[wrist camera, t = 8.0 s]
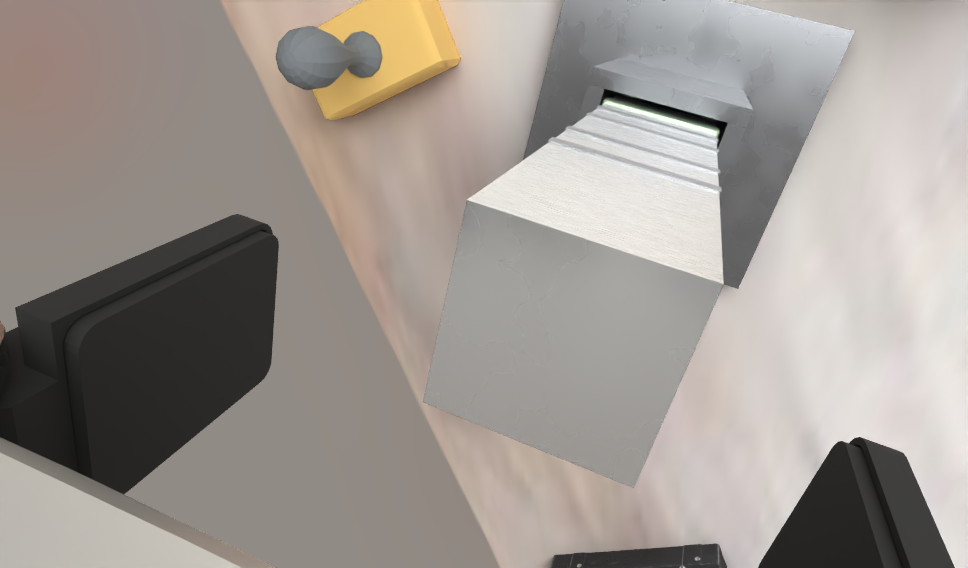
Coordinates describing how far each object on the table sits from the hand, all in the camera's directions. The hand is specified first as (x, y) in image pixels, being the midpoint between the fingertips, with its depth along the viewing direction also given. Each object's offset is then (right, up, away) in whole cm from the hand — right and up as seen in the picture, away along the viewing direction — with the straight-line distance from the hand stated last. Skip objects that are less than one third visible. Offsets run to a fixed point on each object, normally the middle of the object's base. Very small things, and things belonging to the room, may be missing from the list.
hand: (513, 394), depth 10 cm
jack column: (+8, +8, +22) cm, 25 cm away
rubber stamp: (-7, +19, +35) cm, 40 cm away
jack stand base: (+11, +12, +30) cm, 34 cm away
